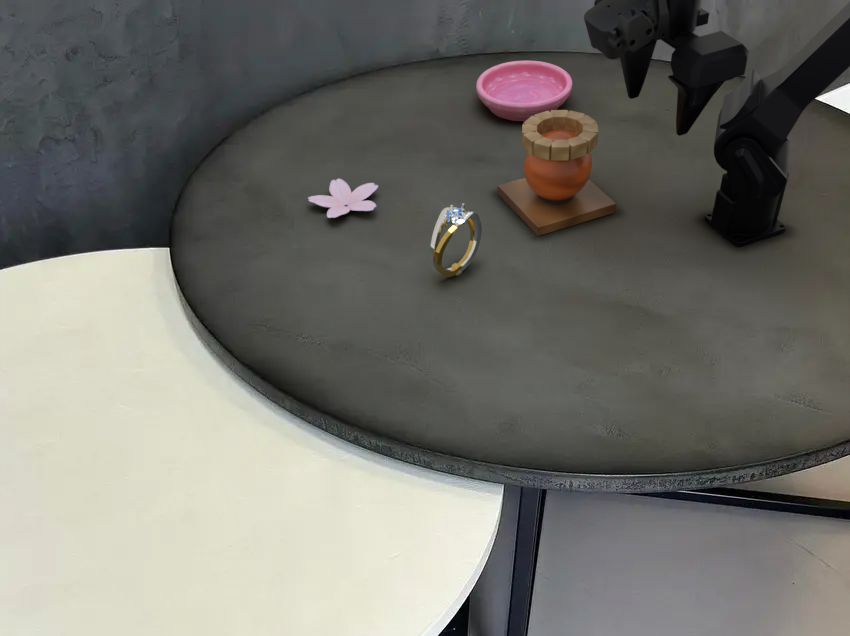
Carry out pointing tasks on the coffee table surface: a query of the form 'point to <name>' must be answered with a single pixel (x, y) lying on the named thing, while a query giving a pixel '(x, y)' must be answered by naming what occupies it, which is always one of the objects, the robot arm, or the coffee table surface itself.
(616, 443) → the coffee table surface
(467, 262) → the ring
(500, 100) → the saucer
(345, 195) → the flower
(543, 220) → the ball stand
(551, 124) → the ring
